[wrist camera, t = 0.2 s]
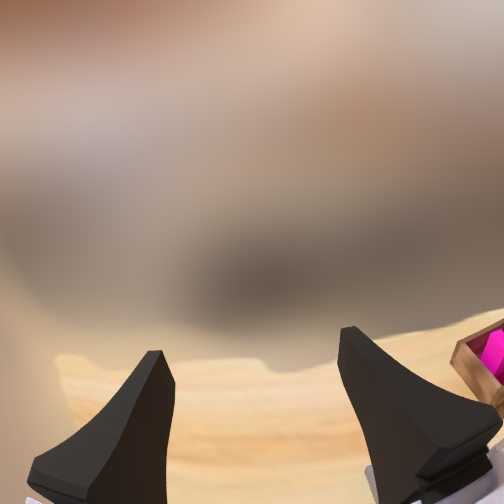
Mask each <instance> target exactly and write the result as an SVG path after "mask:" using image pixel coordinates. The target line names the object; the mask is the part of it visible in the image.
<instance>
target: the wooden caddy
mask: <svg viewBox="0 0 504 504" xmlns="http://www.w3.org/2000/svg"><path fill="white" fill-rule="evenodd" d="M500 329H501V330H502V331H503V332H504V319H502V320H500V321H498V322H496V323H494V324H492V325H490V326H488V327H486V328H484V329H482V330H480V331H478V332H476V333H474V334H472V335H470V336H468V337H466V338H464V339H461V340H459V341H457V344H456V347H455V350H454V352H453V355H452V358H451V360H450V364H451V365H452V366H453V367H454V369H455V370H456V371H457V372H458V374H459V375H460V376H461V378H462V379H463V380H464V381H465V383H466V384H467V385H468V387H469V388H470V389H471V391H472V392H473V393H474V395H475V396H476V397H477V399H478V400H479V401H480V402H481V403H485V404H489V405H493V407H494V408H495V409H496V408H497V407H499V406H500V405H501V404H503V403H504V385H503V386H502V385H501V384H500V383H499V382H498V380H497V379H496V378H495V377H494V376H493V375H492V373H491V372H490V371H489V370H488V369H487V368H486V366H485V365H484V364H483V363H482V362H481V361H480V359H479V358H478V357H477V356H476V354H478V353H480V352H481V351H483V350H484V349H485V346H486V344H487V341H488V339H489V336H490V334H491V333H492V332H495V331H497V330H500Z"/></svg>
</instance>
